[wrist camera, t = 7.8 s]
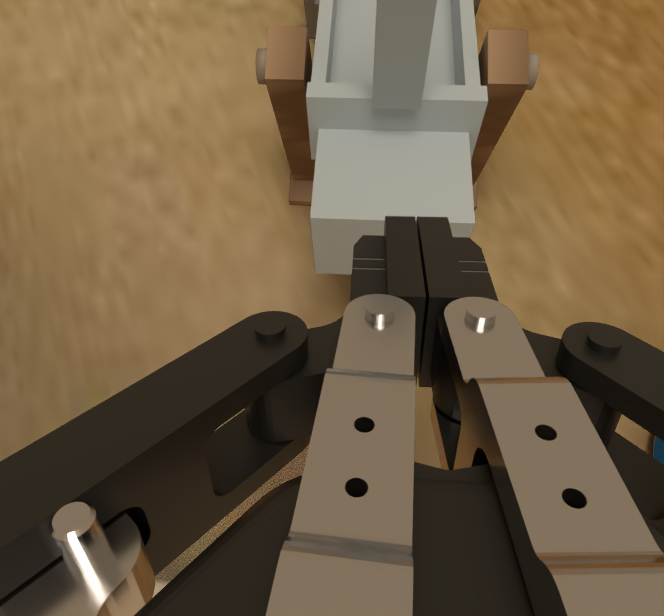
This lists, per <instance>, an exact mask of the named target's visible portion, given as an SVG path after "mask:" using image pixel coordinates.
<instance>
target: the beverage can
mask: <svg viewBox="0 0 664 616" xmlns="http://www.w3.org/2000/svg"><path fill="white" fill-rule="evenodd" d="M653 458H654V459H656V460H657V461H659V462H660V463H662V464H663V465H664V441H663V440H661V439H660V438H658V437H657V436H655V439H654V446H653Z"/></svg>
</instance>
